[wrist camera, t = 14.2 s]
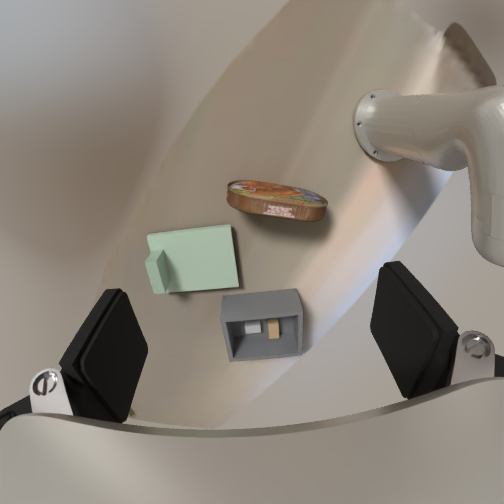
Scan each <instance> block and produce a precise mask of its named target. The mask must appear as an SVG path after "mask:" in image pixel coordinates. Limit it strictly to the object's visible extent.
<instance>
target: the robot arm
mask: <svg viewBox="0 0 504 504" xmlns="http://www.w3.org/2000/svg"><path fill="white" fill-rule="evenodd" d="M371 96H372V98H371ZM357 123H359V125H357ZM353 126H354V132H355V135H356V138H357V140H358V142H359V144H360V145H361V147H362V148H363V149H364V150H365V151H366V152H367V153H368V154H369V155H370V156H372V157H374V158H376V159H378V160H381V161H386V162H394V161H398V160H401V159H403V158H407V159H410V160H413V161H417V162H420V163H423V164H426V165H429V166H432V167H435V168H438V169H442V170H446V171H457V170H461V169H464V168H466V167H467V166H468V174H469V180H470V193H471V232H472V239H473V243H474V246H475V248H476V250H477V251H478V253H479V254H480V255H481V256H482V257H483V258H485V259H486V260H487V261H489V262H491V263H493V264H496V265H499V266H502V267H504V85H496V86H489V87H484V88H479V89H475V90H471V91H465V92H459V93H446V94H426V95H411V96H401V95H399V94H398V93H396V92H393V91H390V90H375V91H372V92H369V93H368V94H366V95H365V96H364V97H363V98H362V99H361V100H360V101H359V103H358V104H357V106H356V109H355V111H354V117H353ZM373 152H375V153H373ZM370 329H371V333H372V335H373V337H374V339H375V341H376V342H377V344H378V346H379V348H380V350H381V352H382V354H383V356H384V358H385V360H386V362H387V364H388V366H389V369H390V371H391V373H392V375H393V377H394V379H395V381H396V383H397V385H398V388H399V390H400V392H401V394H402V396H403V397H404V398H407V399H408V400H406V401H402V402H399V403H395V404H392V405H388V406H384V407H381V408H377V409H374V410H370V411H365V412H361V413H357V414H352V415H348V416H344V417H338V418H333V419H327V420H321V421H315V422H309V423H302V424H294V425H286V426H277V427H267V428H253V429H231V430H193V429H191V430H190V429H169V428H157V427H156V428H155V427H146V426H136V425H128V424H122V423H123V422H124V421H126V419H127V417H128V413H129V410H130V407H131V403H132V400H133V397H134V394H135V390H136V387H137V384H138V381H139V378H140V375H141V372H142V369H143V366H144V363H145V360H146V357H147V354H148V346H147V343H146V341H145V338H144V336H143V334H142V331H141V329H140V326H139V324H138V321H137V319H136V316H135V314H134V311H133V309H132V306H131V304H130V301H129V298H128V296H127V294H126V292H123V291H122V290H121V289H120V288H119V289H106V290H105V292H104V293H103V294H102V296H101V297H100V299H99V300H98V302H97V303H96V305H95V306H94V308H93V309H92V311H91V312H90V314H89V315H88V317H87V318H86V320H85V321H84V323H83V324H82V326H81V327H80V329H79V331H78V332H77V334H76V335H75V337H74V339H73V340H72V342H71V343H70V345H69V347H68V348H67V350H66V352H65V353H64V355H63V357H62V359H61V360H60V362H59V364H60V366H61V367H62V369H61V371H58V370H57V369H54V368H47V369H44V370H42V371H40V372H38V373H37V374H36V375H35V376H34V378H33V379H32V380H31V383H30V386H29V392H30V395H29V396H27V397H25V398H23V399H22V400H19V401H18V402H16V403H14V404H12V405H10V406H9V407H6V408H4V409H3V410H2V411H0V504H504V357H503V356H499V355H497V354H495V349H494V345H493V343H492V341H491V340H490V339H489V338H488V336H486V335H485V334H483V333H481V332H478V331H466V332H464V333H462V334H461V335H459V334H458V332H457V330H458V326H457V325H456V324H455V323H454V322H453V320H452V319H451V318H450V317H449V315H448V314H447V313H446V312H445V311H444V310H443V308H442V307H441V306H440V305H439V303H438V302H437V301H436V300H435V299H434V298H433V297H432V295H431V294H430V293H429V292H428V291H427V290H426V289H425V288H424V287H423V285H422V284H421V283H420V282H419V281H418V280H417V279H416V278H415V277H414V275H412V273H410V271H409V270H408V269H407V268H406V267H405V266H404V265H403V264H402V263H401V262H400V261H394V262H386V263H385V264H384V265H383V267H381V268H380V270H379V276H378V283H377V289H376V295H375V301H374V308H373V313H372V318H371V323H370Z"/></svg>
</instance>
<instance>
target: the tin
mask: <svg viewBox="0 0 504 504" xmlns="http://www.w3.org/2000/svg"><path fill="white" fill-rule="evenodd" d="M227 187H228V191H227V202H228V204H229V205H230V206H231V207H233V208H235V209H237V210H239V211H242V212H245V213H250V214H256V215H262V216H269V217H276V218H283V219H290V220H297V221H305V222H315V221H319V220H321V219H322V218H323V216H324V214H325V210H326V206H327V205H328V201H327V200H326V199H325V198H324V197H322V196H320V195H318V194H316V193H314V192H312V191H308V190H305V189H301V188H296V187H290V186H284V185H278V184H271V183H265V182H258V181H250V180H237V181H233V182H230V183H229V184H228V185H227Z"/></svg>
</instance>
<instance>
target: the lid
mask: <svg viewBox="0 0 504 504" xmlns="http://www.w3.org/2000/svg"><path fill="white" fill-rule="evenodd" d="M147 239H148V243H149V247H150V251H151V253H150V255H149V257H148V258H147V260H146V261H145V265H146V268H147V272H148V275H149V278H150V282H151V285H152V288H153V291H154V294H158V293H168V292H181V291H194V290H207V289H219V288H230V287H239V281H238V274H237V267H236V260H235V253H234V245H233V238H232V231H231V224H229V225H220V226H211V227H202V228H193V229H185V230H177V231H169V232H161V233H153V234H148V235H147Z"/></svg>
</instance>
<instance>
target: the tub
mask: <svg viewBox="0 0 504 504" xmlns="http://www.w3.org/2000/svg"><path fill="white" fill-rule="evenodd" d="M220 320H221V324H222V329H223V334H224V338H225V343H226V347H227V352H228V356H229V360H230V362H233V361H248V360H260V359H270V358H280V357H288V356H297V355H302V343H303V309H302V306H301V302H300V299H299V295H298V292H297V288H296V289H287V290H278V291H268V292H258V293H248V294H237V295H225V296H223V299H222V308H221V317H220Z"/></svg>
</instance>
